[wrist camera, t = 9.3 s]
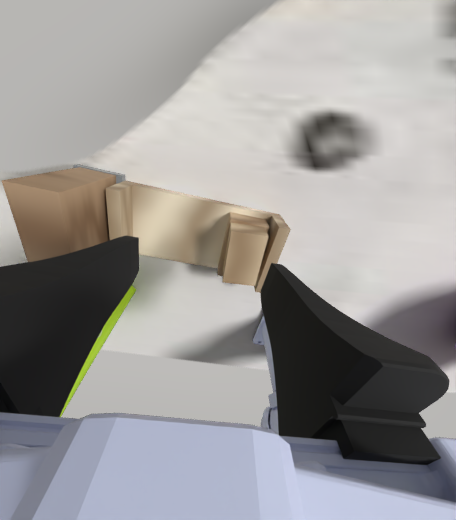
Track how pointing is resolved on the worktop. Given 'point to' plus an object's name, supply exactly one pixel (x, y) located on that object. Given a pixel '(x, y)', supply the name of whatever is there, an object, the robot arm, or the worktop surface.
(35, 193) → the tall offcut
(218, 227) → the tan wooden stepped block
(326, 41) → the worktop surface
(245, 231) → the offcut upper
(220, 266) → the offcut lower
